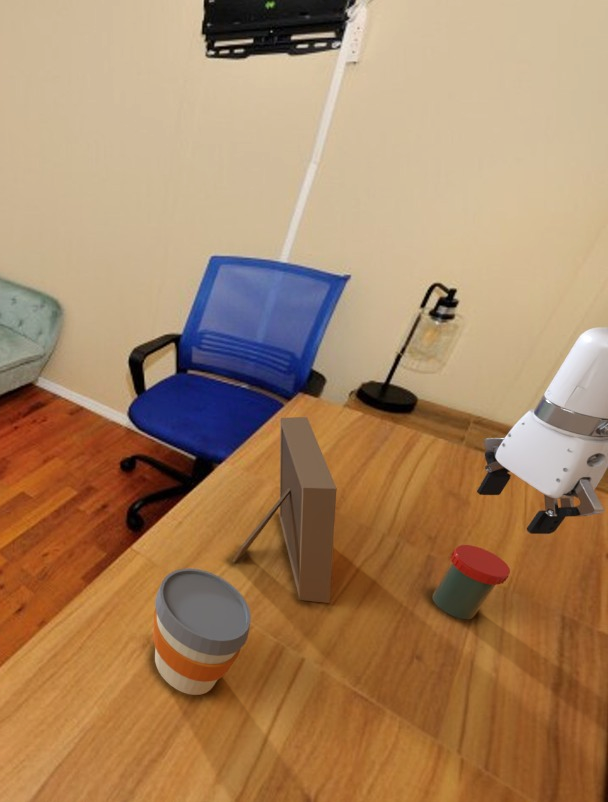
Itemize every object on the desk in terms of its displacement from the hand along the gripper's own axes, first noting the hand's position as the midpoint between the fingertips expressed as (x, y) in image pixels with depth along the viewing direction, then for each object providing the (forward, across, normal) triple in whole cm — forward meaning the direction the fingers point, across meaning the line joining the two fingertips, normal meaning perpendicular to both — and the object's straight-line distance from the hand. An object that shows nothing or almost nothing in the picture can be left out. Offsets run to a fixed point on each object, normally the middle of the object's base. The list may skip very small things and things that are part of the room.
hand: (512, 511), depth 78 cm
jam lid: (+11, 0, 0) cm, 11 cm away
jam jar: (+22, 0, 0) cm, 22 cm away
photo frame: (+22, +12, +25) cm, 35 cm away
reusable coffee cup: (+22, -11, +50) cm, 56 cm away
